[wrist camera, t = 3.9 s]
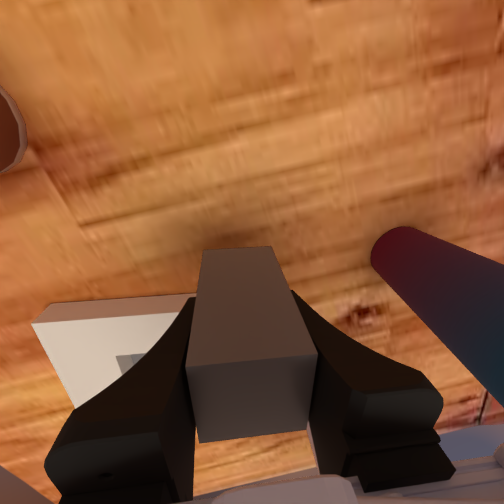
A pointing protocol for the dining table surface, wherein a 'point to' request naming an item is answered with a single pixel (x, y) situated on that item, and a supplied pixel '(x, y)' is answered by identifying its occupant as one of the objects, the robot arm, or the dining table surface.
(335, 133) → the dining table surface
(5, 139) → the coffee cup
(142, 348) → the socket plate
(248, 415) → the plug
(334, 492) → the robot arm
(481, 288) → the cup
